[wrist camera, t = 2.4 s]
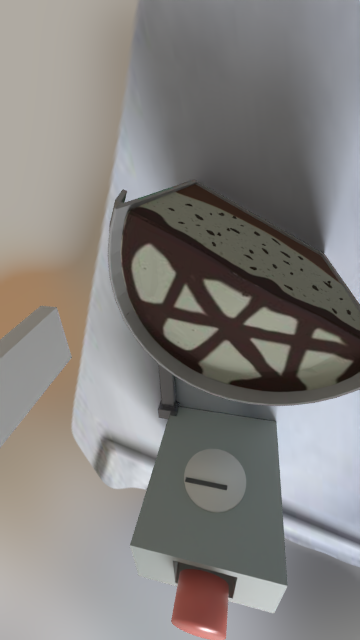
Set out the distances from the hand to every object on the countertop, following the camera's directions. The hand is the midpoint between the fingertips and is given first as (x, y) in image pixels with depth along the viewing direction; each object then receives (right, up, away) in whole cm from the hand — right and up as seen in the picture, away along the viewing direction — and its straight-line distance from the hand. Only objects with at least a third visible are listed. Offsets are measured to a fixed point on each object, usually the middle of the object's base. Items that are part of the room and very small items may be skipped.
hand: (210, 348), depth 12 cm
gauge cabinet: (+3, -10, +18) cm, 21 cm away
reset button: (0, -17, +8) cm, 19 cm away
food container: (+3, +5, +8) cm, 10 cm away
